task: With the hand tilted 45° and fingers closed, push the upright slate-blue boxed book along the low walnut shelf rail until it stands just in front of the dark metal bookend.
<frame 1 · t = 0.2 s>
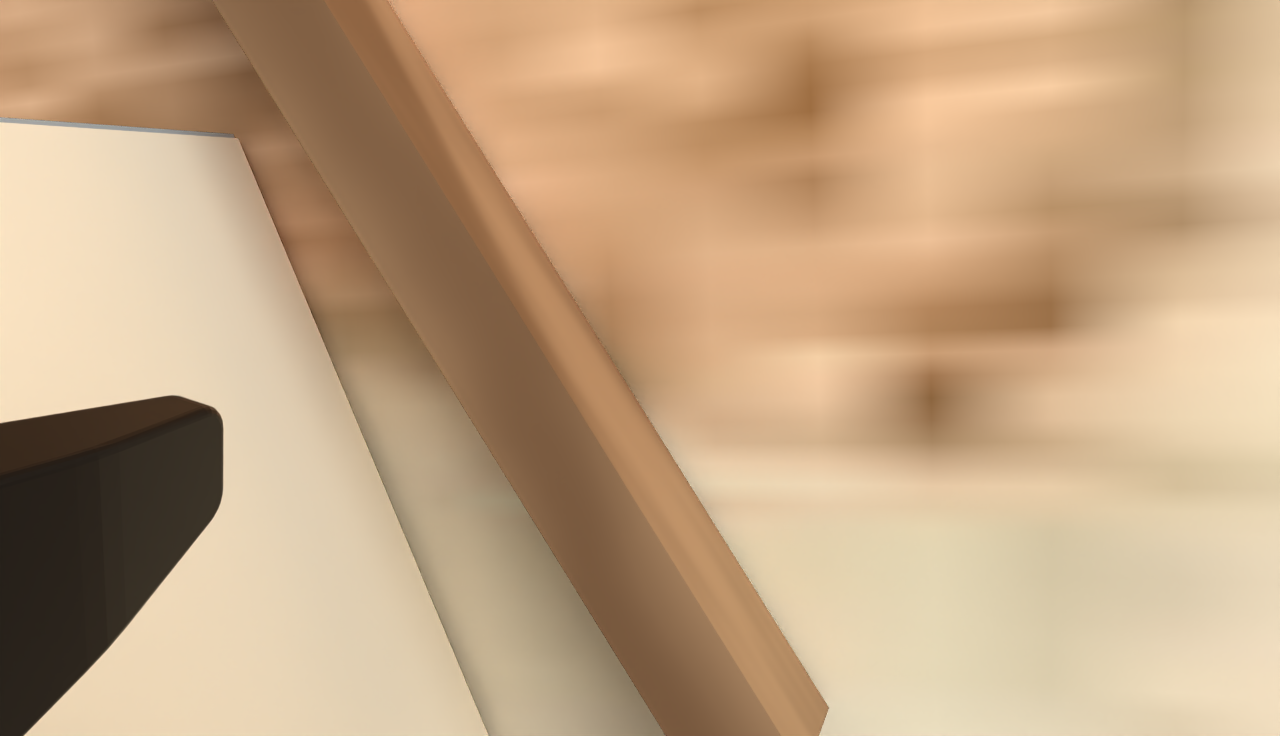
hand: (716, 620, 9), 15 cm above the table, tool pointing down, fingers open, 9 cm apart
shelf rail: (414, 126, 26), on the table
boxed book: (292, 492, 28), on the table
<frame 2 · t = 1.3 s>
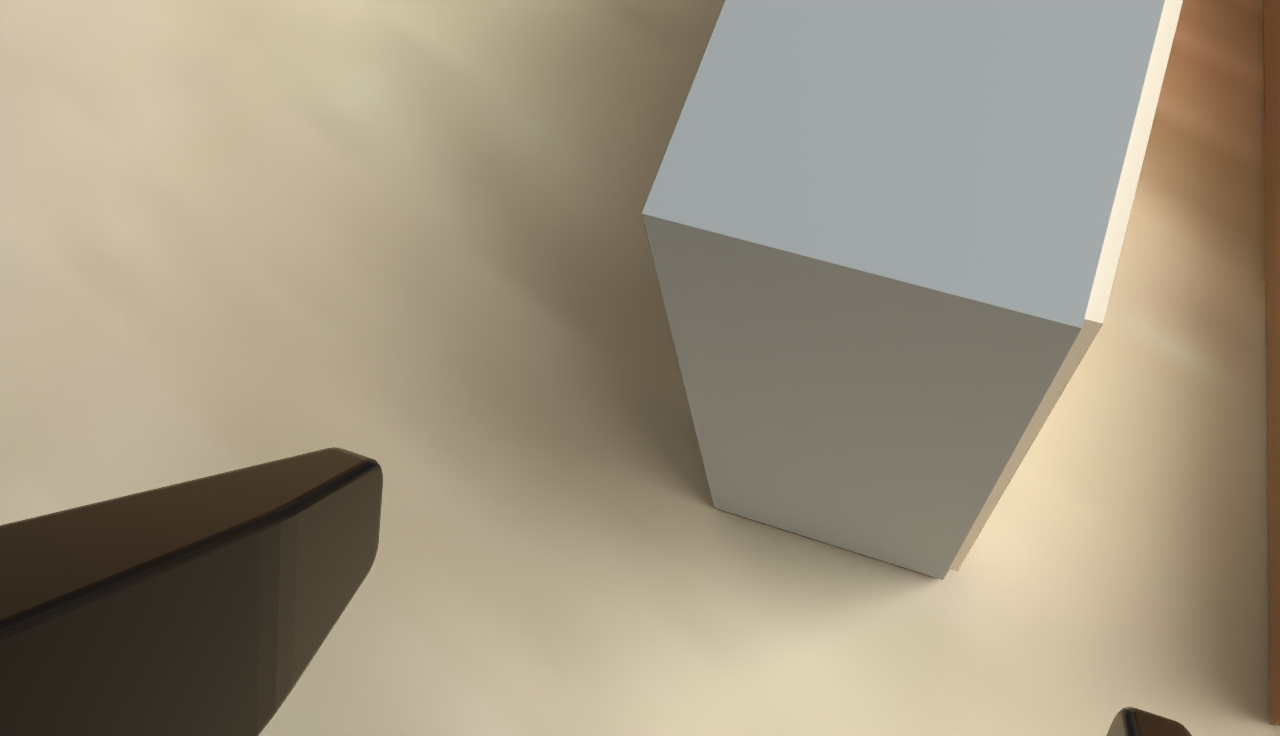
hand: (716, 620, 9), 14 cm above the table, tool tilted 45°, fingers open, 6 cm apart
boxed book: (935, 188, 26), on the table
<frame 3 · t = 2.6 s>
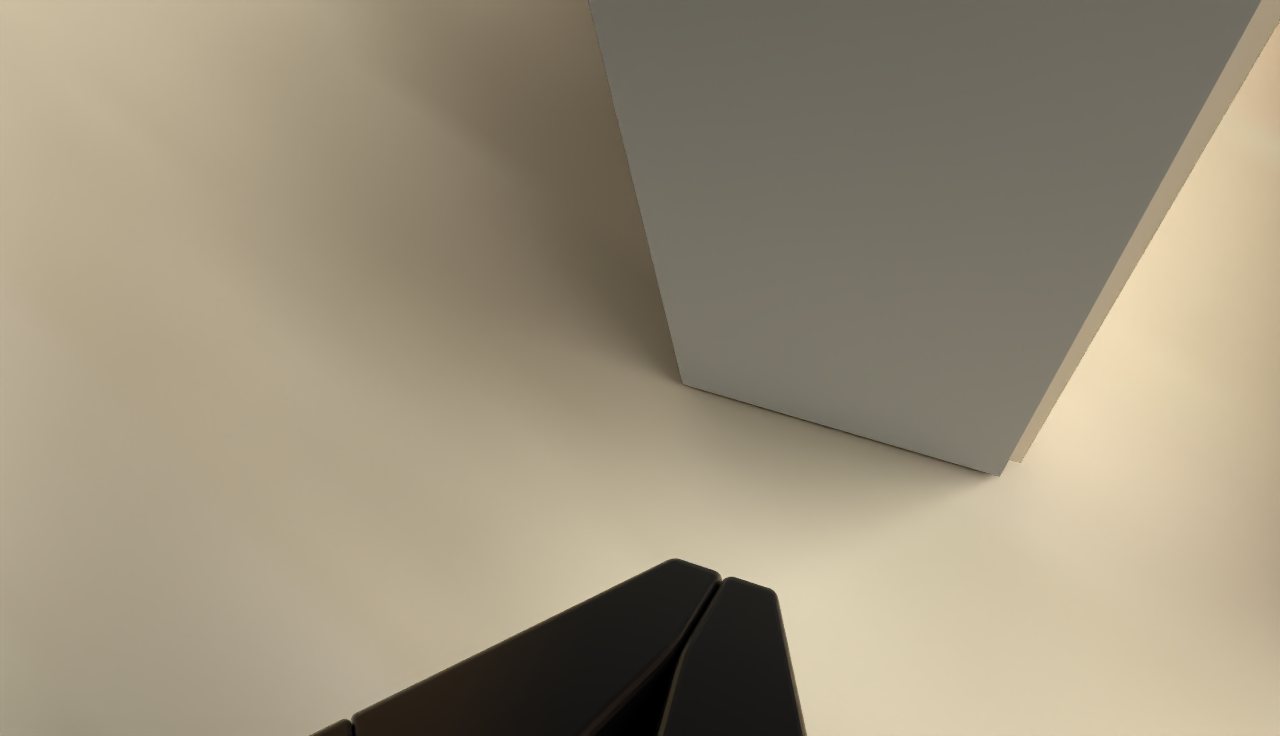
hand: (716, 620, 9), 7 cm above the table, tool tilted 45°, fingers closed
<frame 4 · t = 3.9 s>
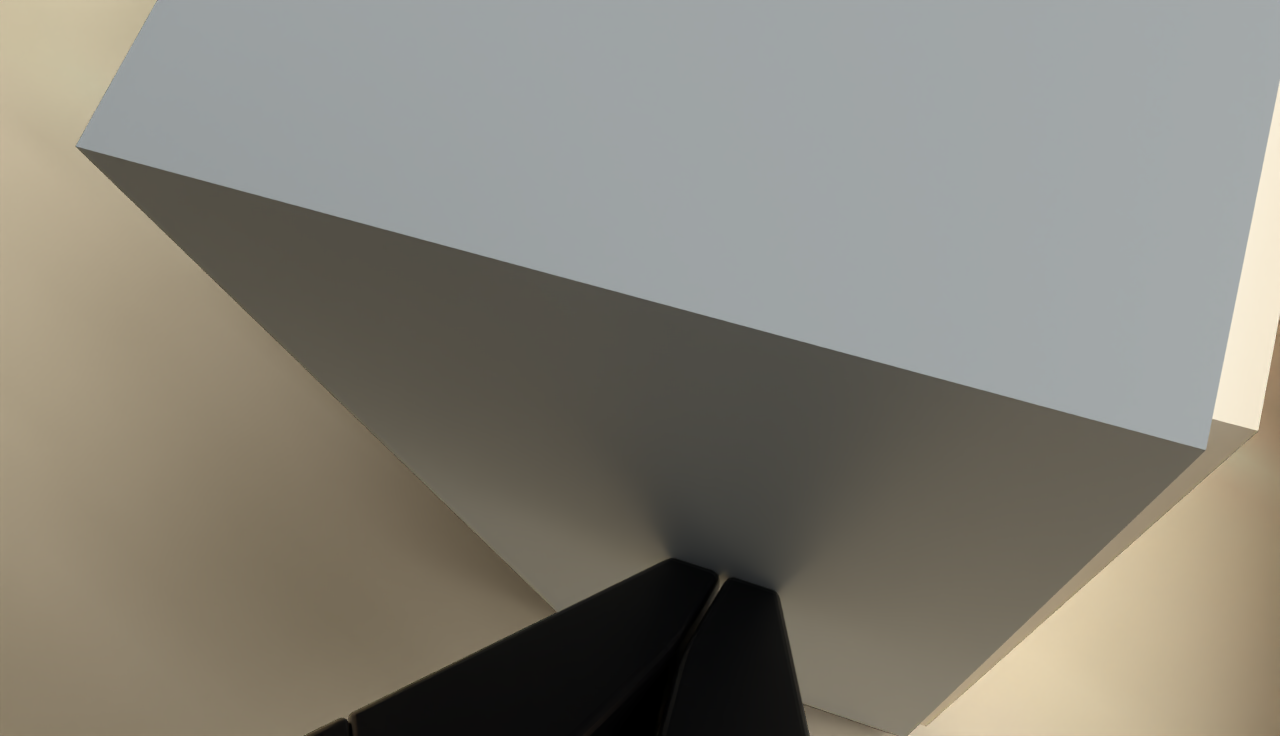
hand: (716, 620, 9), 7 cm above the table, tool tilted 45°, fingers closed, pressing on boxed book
boxed book: (894, 157, 18), on the table, touching gripper
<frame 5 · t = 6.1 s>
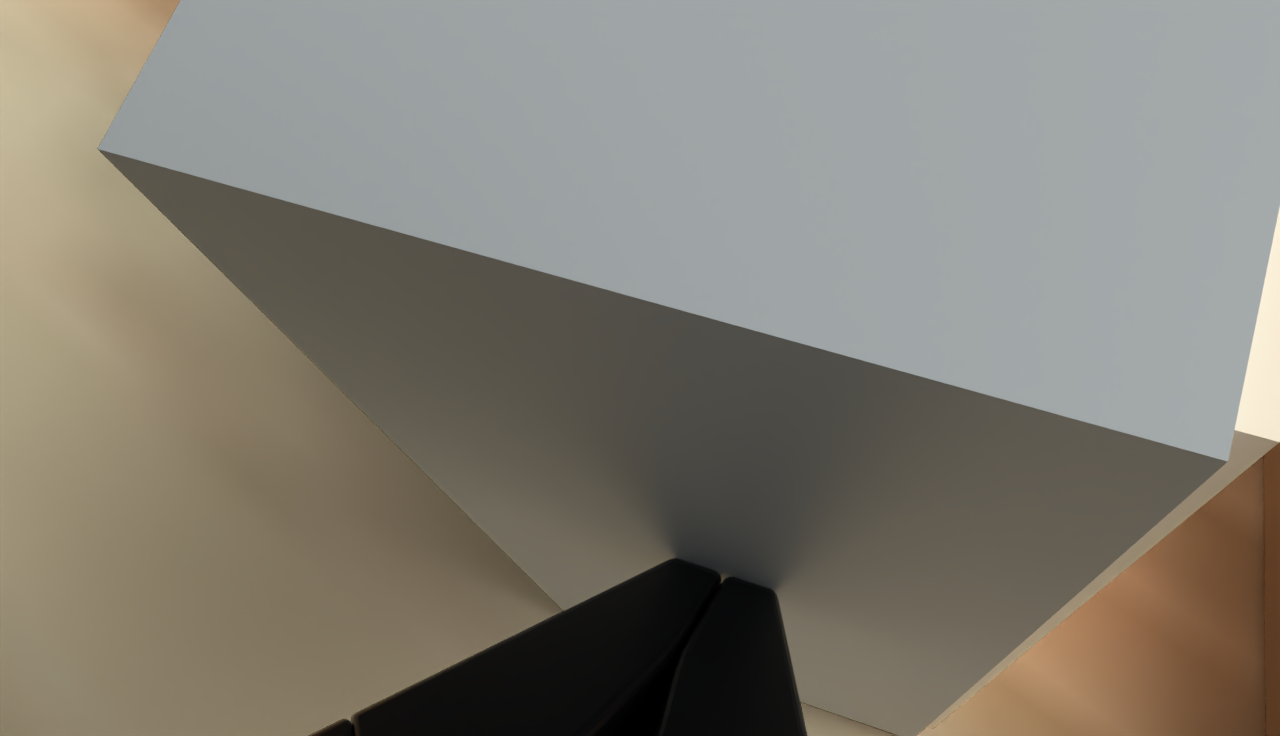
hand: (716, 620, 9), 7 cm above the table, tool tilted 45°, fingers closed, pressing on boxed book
boxed book: (904, 158, 18), on the table, touching gripper
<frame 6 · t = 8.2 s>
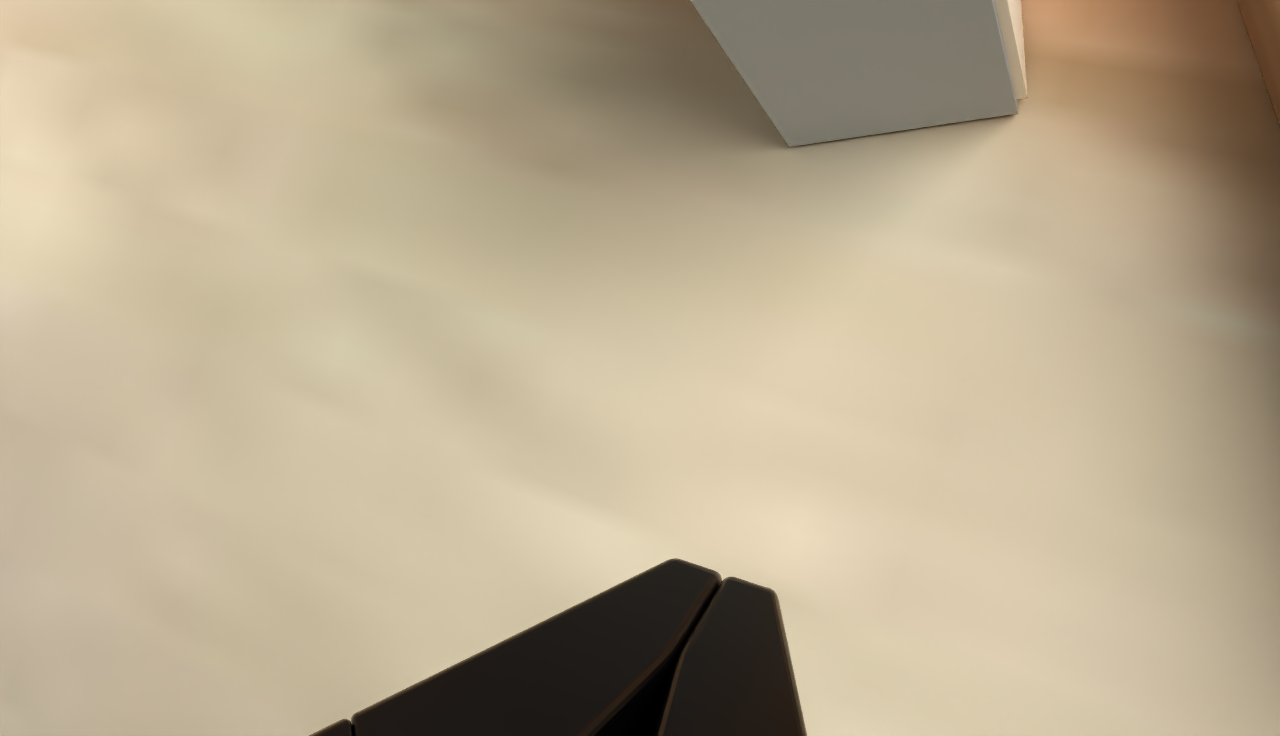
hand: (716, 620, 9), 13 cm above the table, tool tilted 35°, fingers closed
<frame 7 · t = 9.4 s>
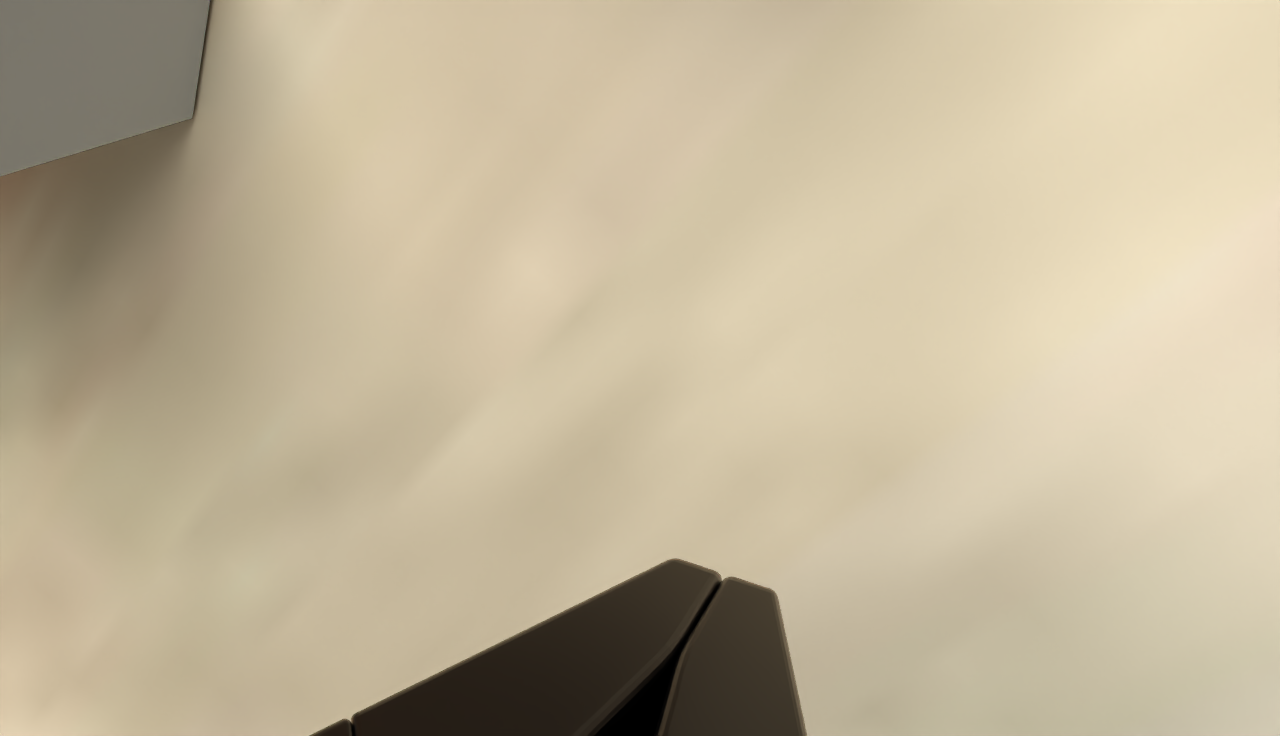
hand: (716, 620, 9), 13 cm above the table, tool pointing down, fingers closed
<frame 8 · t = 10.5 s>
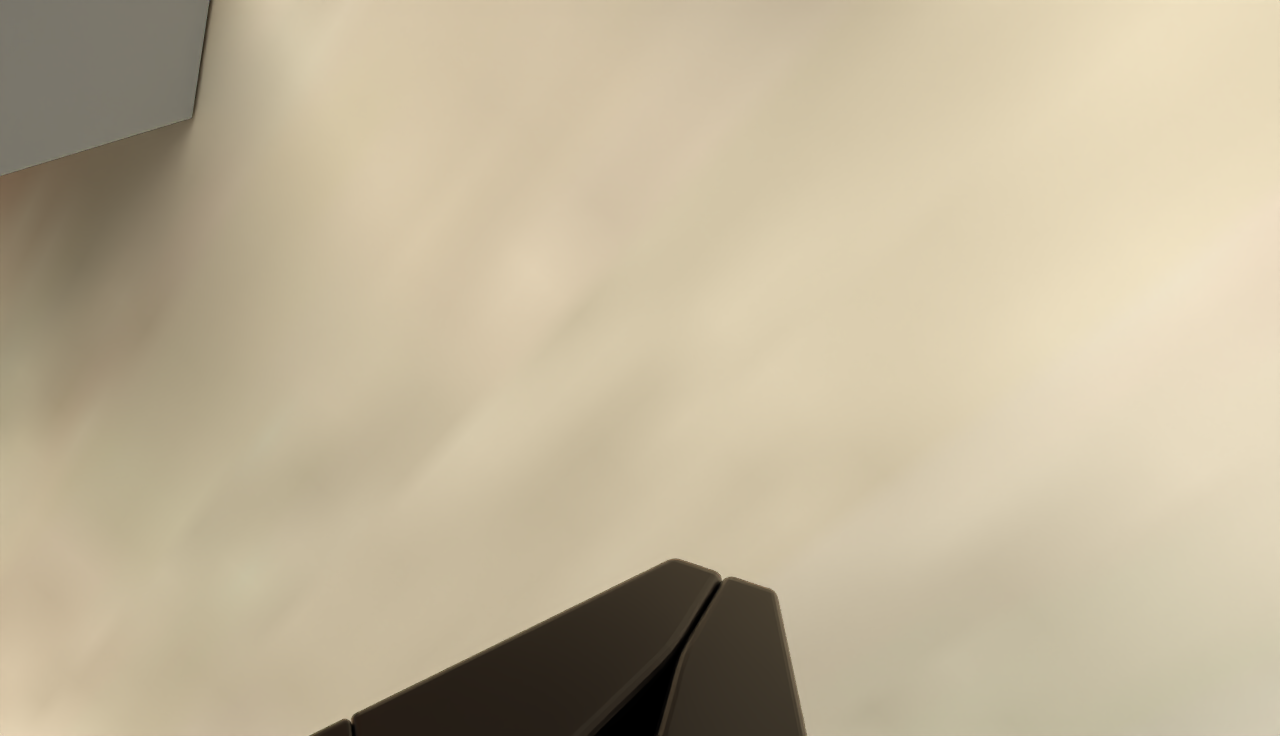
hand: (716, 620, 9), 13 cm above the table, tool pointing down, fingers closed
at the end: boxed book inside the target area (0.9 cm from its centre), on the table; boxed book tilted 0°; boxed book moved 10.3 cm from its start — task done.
